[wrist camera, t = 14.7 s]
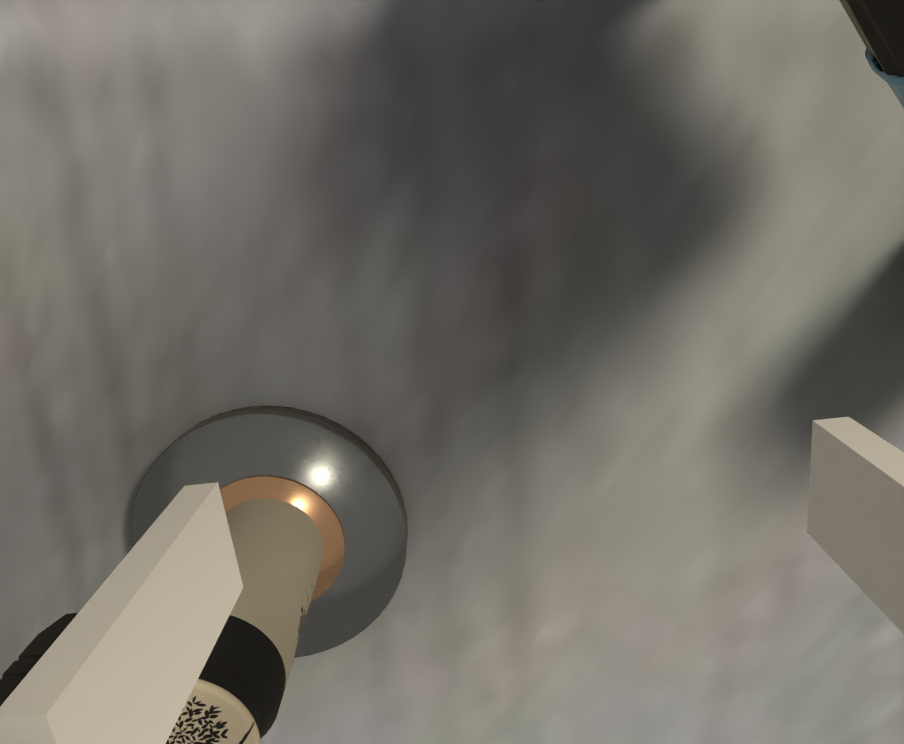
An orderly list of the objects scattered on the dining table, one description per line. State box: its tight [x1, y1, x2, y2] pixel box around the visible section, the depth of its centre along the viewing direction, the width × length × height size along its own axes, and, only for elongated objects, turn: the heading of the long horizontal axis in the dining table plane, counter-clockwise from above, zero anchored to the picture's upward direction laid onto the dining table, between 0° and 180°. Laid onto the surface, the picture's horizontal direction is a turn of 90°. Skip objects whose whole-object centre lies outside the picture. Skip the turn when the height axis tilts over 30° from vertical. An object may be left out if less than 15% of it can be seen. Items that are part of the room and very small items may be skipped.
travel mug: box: [166, 498, 324, 744], centre depth 40 cm, size 8×8×18 cm
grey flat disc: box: [131, 406, 407, 658], centre depth 50 cm, size 20×20×2 cm
